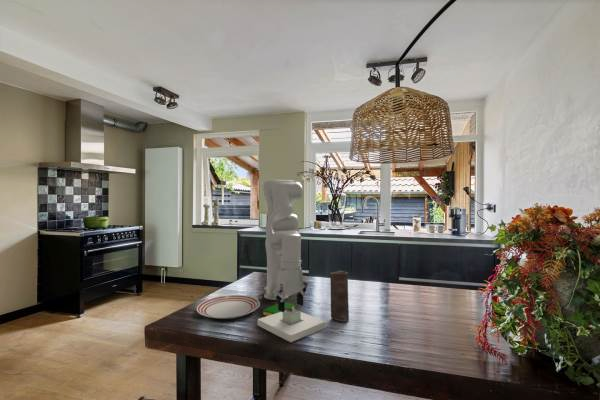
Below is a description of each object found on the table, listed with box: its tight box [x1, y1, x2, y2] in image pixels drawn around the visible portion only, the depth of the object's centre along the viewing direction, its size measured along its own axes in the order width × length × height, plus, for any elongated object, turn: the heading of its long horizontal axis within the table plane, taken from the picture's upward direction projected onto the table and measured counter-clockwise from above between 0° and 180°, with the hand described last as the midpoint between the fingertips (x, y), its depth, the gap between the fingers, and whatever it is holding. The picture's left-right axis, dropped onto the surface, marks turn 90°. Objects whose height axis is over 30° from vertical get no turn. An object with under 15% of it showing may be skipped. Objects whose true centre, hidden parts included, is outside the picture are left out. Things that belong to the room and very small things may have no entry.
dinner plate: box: [196, 294, 261, 320], centre depth 137 cm, size 27×27×3 cm
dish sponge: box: [262, 301, 295, 317], centre depth 137 cm, size 7×14×2 cm, turn 146°
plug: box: [283, 306, 302, 326], centre depth 120 cm, size 6×5×7 cm
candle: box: [329, 270, 350, 323], centre depth 127 cm, size 8×7×20 cm
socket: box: [257, 311, 327, 343], centre depth 120 cm, size 20×18×3 cm
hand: (290, 307), depth 121 cm, fingers open, 9 cm apart
